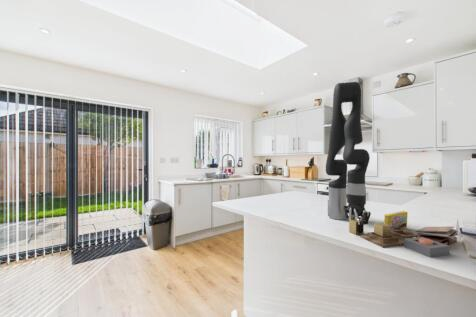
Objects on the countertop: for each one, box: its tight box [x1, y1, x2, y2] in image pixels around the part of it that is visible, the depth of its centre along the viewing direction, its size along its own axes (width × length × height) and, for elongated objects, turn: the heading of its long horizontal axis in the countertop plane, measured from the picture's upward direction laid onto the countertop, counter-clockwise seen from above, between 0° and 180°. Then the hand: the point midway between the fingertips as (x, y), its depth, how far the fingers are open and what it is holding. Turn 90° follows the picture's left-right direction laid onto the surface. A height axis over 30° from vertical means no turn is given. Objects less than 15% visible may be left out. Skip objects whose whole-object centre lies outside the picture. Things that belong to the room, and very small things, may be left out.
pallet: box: [359, 229, 421, 248], centre depth 88 cm, size 11×22×2 cm, turn 103°
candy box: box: [383, 210, 408, 230], centre depth 99 cm, size 16×2×8 cm, turn 117°
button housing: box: [403, 236, 451, 258], centre depth 77 cm, size 9×9×3 cm
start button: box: [419, 237, 434, 246], centre depth 77 cm, size 4×4×4 cm
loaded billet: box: [373, 222, 391, 238], centre depth 87 cm, size 4×4×6 cm
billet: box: [348, 218, 365, 236], centre depth 96 cm, size 4×4×6 cm
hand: (356, 230), depth 96 cm, fingers closed on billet, 4 cm apart
